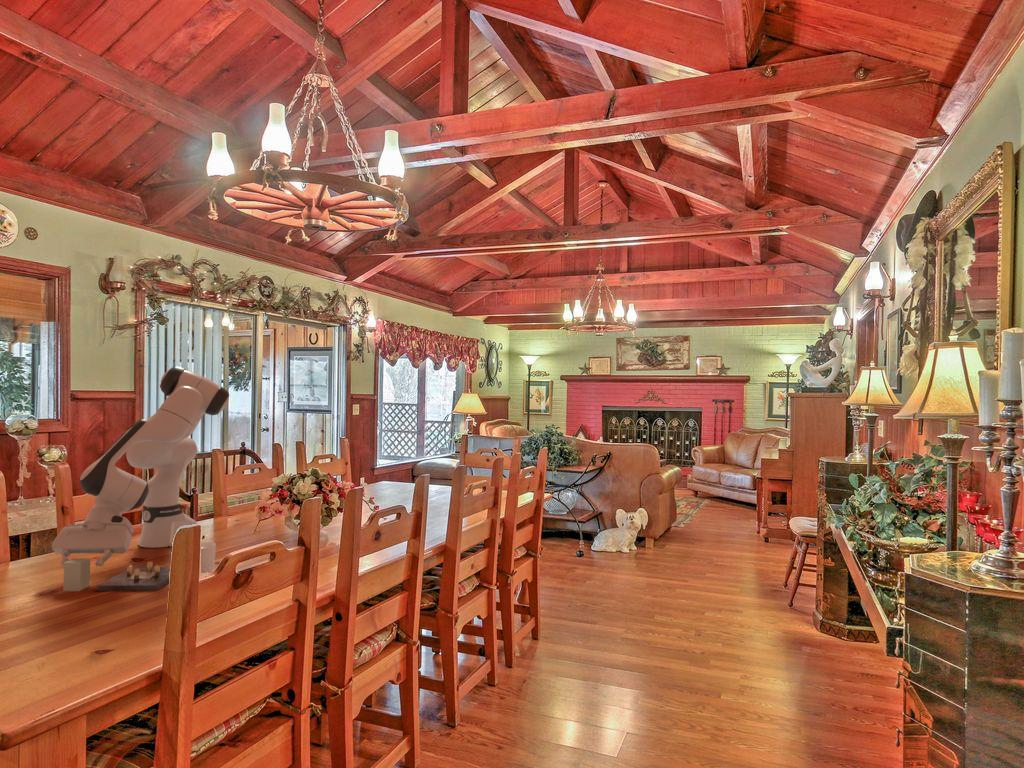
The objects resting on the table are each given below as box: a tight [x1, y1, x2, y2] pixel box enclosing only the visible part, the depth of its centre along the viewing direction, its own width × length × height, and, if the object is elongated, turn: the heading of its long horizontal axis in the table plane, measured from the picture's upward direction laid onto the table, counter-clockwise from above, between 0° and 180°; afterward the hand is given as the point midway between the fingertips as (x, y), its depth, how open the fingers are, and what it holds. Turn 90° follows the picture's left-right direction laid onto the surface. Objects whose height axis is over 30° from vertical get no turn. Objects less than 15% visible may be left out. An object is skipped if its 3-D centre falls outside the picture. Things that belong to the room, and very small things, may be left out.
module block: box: [62, 557, 91, 592], centre depth 179 cm, size 4×4×8 cm
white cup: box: [200, 541, 217, 577], centre depth 191 cm, size 8×8×10 cm
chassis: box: [97, 561, 171, 592], centre depth 187 cm, size 18×16×4 cm
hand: (81, 565), depth 180 cm, fingers open, 8 cm apart
